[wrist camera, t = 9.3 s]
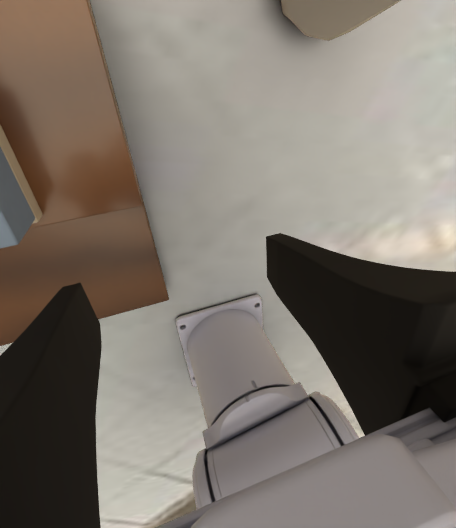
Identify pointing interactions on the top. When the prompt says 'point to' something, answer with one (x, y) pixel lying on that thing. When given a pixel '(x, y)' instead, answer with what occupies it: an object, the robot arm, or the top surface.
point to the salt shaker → (332, 15)
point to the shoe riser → (69, 170)
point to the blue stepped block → (14, 198)
